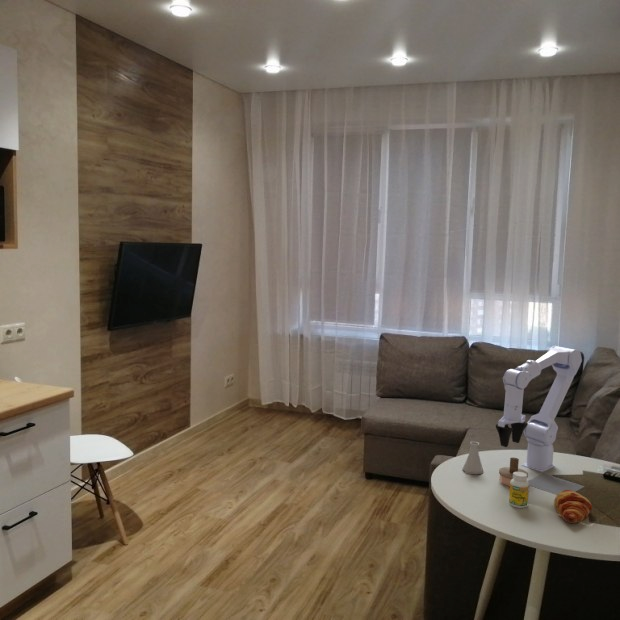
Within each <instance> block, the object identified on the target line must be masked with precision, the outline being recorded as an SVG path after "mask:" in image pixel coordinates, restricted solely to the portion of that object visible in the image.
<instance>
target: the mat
mask: <svg viewBox="0 0 620 620" xmlns="http://www.w3.org/2000/svg"><path fill="white" fill-rule="evenodd" d="M527 481H528V483H529V487H533V488H536V489H538V490H541V491H545V492H547V493H551V494H554V495H556V496H557V495H558V494H559V493H561V492H562V491H563V490H572V491H574V492H577V491H579V490H581V489H583V488H585V485H581V484H579V483H575V482H573V481H569V480H566V479H563V478H559V477H556V476H554V475H550V474H547V473H542V474H540V475H538V476H535V477H533V478H531V479H530V480H527Z"/></svg>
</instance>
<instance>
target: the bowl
mask: <svg viewBox="0 0 620 620" xmlns="http://www.w3.org/2000/svg"><path fill="white" fill-rule="evenodd" d="M511 480H512V479H509V478H505V477H503V476H501V475H500V474H499V482H501V484H503V485H506V486H509V487H510V481H511Z"/></svg>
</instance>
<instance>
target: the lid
mask: <svg viewBox="0 0 620 620" xmlns="http://www.w3.org/2000/svg"><path fill="white" fill-rule="evenodd" d="M519 462H520V459H519V458H517V457H510V459H509V466H505V467H504V466H503V467H500V468H499V470H498V474H499V476H500V475H501V476H503V477H505V478H509V479H513V473H514V472H523V473H526V474H527V479H528V477H529V473H528V472H527V471H526V470H524V469H521V468H519Z"/></svg>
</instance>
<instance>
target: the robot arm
mask: <svg viewBox="0 0 620 620" xmlns="http://www.w3.org/2000/svg"><path fill="white" fill-rule="evenodd" d="M582 362H583V359H582V354H581V351H580V350H578V349H576V348H567V347H562V346H560V345H556V344H555V345H552V346H551V347H549V348H548V349H547V352H546V353H545V354H543V355H542V356H540V357H539V358H538V359H536V360H533V359H528V360H526V362H524V363H523V364H521V365H518V366H517V367H516V368H510V369H509V368H508V369H507V370H506V371H505V372H504V374H503V377H502V381H503V385H504V391H505V393H504V394H505V397H504V405H503V406H504V408H503V416H502V417H501V418H500V419H499V420H498V422H497V423H496V424H495V428H496V431H497V433H498V436H499V442H500V446H501V447H504V448H507V447H508V446H509V444H510V437H511V440H512V443H516V444H520V441H521V438H522V435H524V437H525V438H526V441H527V449H526V450H527V451H526V452H527V453H526V462H524V463H522V464H521V466H523V467H525V468H529V469H532V470H534V471H537V472H541V473H543V472H546V471H548V470H550V469H552V468H554V467H556V464H553V461H554V460H553V459H554V450H555V449H554V446H553V443H554V442H555V441H556V439H557V433H558V430H559V427H558V425H557V423H556V421H555V418H556V417H557V415H558V412H559V411H560V408H561V406H562V403H563V401H564V399H565V397H566V395H567V393H568V391H569V389H570V387H571V384H572V383H573V381H574V377H575V376H576V375H577V373H578V370H579V369H580V367H581V363H582ZM550 366H552V369H553V370H554V372H555V373H556V376H555V378H554V381H553V383H552V385H551V387H550V389H549V391H548V393H547V396H546V398H545V400H544V402H543V404H542V406H541V408H540V411H539V412H538V413H536V414H534V415H531V416H530V418H529V420H528V421H527V422H526V415H525V414H522V412H523V405H524V404H523V400H524V392H525V391H524V389H525V388H527V387H528V385H529V383H530V382H531V380H533V379H535V378H537V377H539V376H540V375H541V373H542V370H543V369H546V368H548V367H550ZM509 425H510V426H509Z"/></svg>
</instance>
